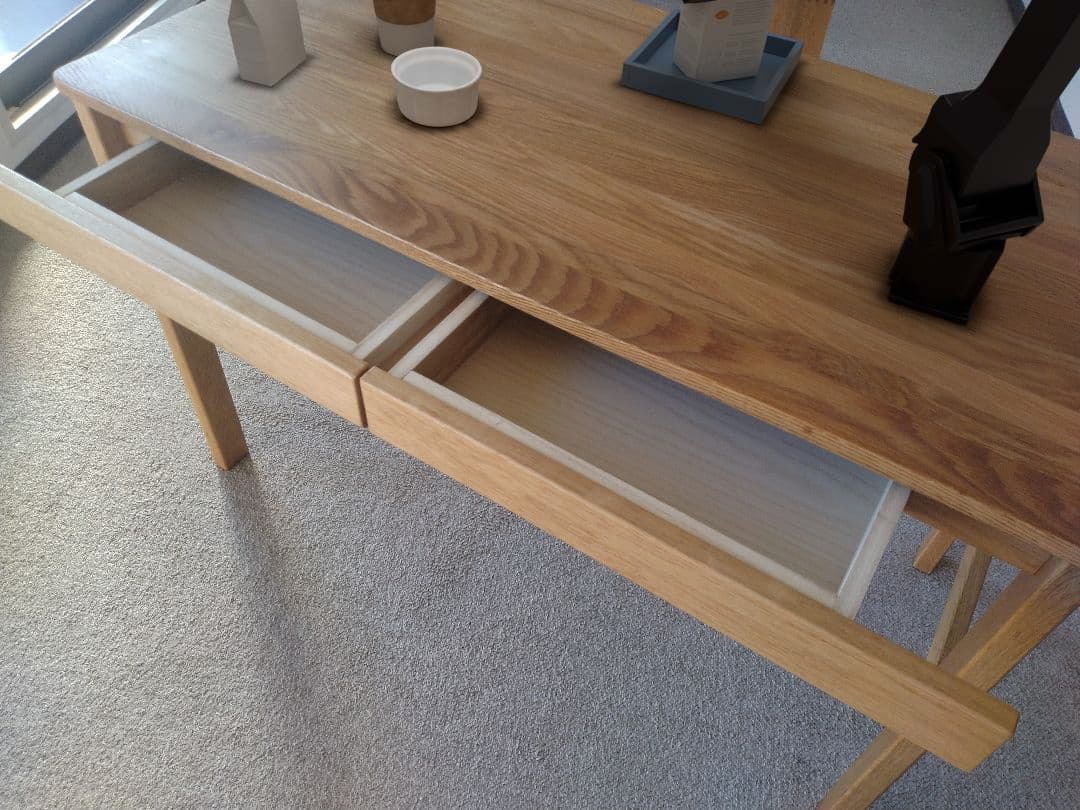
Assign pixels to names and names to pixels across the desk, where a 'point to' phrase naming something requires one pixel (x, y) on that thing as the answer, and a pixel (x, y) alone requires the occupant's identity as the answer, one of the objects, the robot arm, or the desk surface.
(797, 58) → the tray
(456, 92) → the ramekin
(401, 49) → the coffee cup
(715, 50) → the small box
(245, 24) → the grey carton
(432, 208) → the desk surface
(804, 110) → the desk surface
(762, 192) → the desk surface
